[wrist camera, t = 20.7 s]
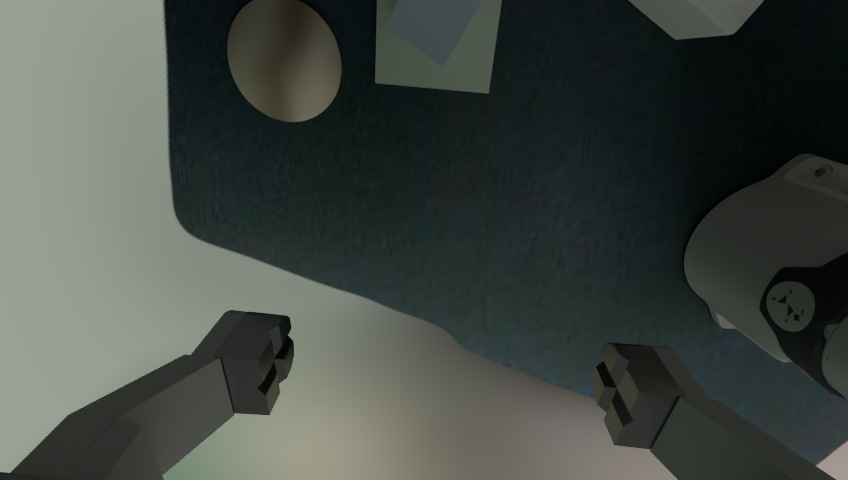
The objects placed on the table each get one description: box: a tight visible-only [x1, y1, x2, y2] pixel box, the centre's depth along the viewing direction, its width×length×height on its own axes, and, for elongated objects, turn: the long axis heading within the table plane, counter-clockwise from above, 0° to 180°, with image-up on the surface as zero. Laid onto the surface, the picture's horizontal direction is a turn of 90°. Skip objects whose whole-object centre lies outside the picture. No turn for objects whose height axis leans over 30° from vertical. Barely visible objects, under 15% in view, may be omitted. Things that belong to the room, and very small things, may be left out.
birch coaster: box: [227, 0, 342, 122], centre depth 33 cm, size 10×10×1 cm
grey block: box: [386, 0, 482, 67], centre depth 28 cm, size 5×5×7 cm
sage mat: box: [375, 0, 502, 93], centre depth 32 cm, size 10×10×1 cm
